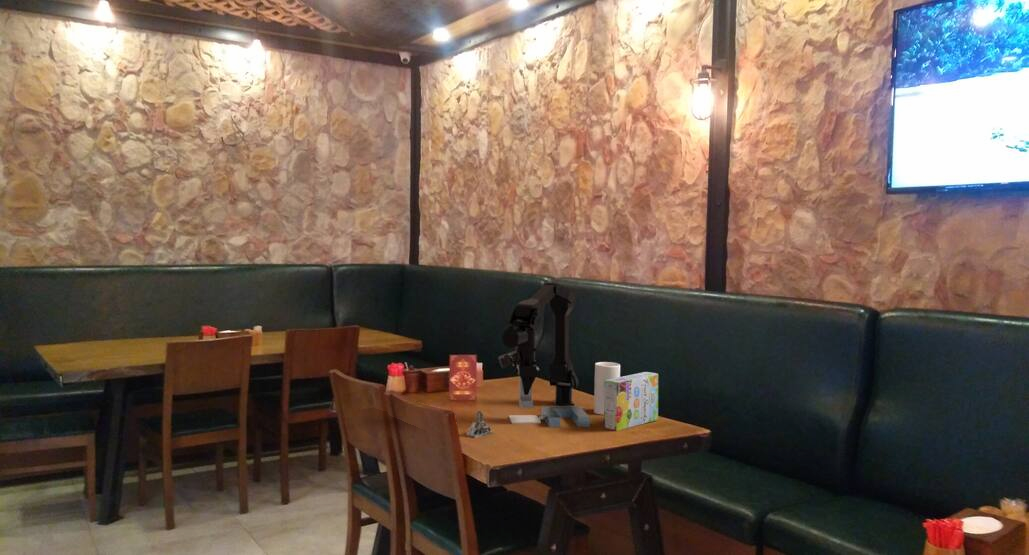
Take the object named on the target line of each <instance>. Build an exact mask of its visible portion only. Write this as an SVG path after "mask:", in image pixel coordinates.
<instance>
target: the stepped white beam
mask: <svg viewBox="0 0 1029 555" xmlns="http://www.w3.org/2000/svg"><path fill="white" fill-rule="evenodd" d="M518 376H519V375H518ZM518 378H519V379H518V382H519V383H518V405H519V407H520V408H521V409H533V408H534V400H533V399H532V393H533V392H532V391H533V388H532V387H531V389H530V391H529V393H528V395H525V394H524V390H523V383H522V378H521V377H520V376H519V377H518Z"/></svg>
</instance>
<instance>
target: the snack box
mask: <svg viewBox="0 0 1029 555" xmlns="http://www.w3.org/2000/svg"><path fill="white" fill-rule="evenodd" d="M658 420H659V373H656V372H651V371H650V372H649V371H643V372H638V373H634V374H629V375H624V376H620V377H618V378H613V379H608V380H604V415H603V429H606V430H610V431H615V432H620V431H621V430H625V429H629V428H633V427H636V426H641V425H644V424H647V423H651V422H655V421H658Z"/></svg>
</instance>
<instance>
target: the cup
mask: <svg viewBox="0 0 1029 555" xmlns="http://www.w3.org/2000/svg"><path fill="white" fill-rule="evenodd" d="M618 377H621V364H620V363H618V362H613V361H609V362H608V361H599V362H595V364H594V394H593V395H594V396H593V398H594V399H593V413H594V414H597V415H602V416H604V380H608V379H613V378H618Z"/></svg>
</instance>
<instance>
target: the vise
mask: <svg viewBox="0 0 1029 555" xmlns="http://www.w3.org/2000/svg"><path fill="white" fill-rule="evenodd" d="M538 418H539V420H540V421H542V420H543V421H545V423H546V425H547V427H548V428H561V419H562V418H567V419H568V418H569V419H572V421H573V422H574V423H575V425H576V426H577V427H578V428H590V427H591V426H590V425H591V423H590V422H591V420H590V418H591V417H590V416H589V414H588V413H586V411H585V410H584V409H583V408H582V407H581V406H580V405H579V406H578V405H553V406H541V415H539V416H538Z"/></svg>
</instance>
